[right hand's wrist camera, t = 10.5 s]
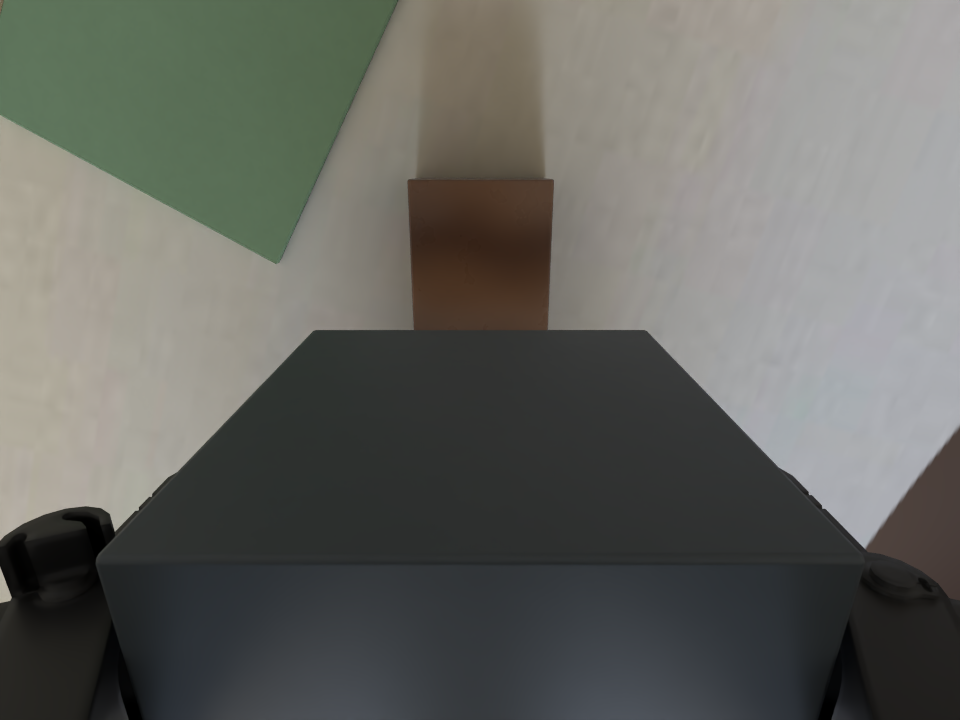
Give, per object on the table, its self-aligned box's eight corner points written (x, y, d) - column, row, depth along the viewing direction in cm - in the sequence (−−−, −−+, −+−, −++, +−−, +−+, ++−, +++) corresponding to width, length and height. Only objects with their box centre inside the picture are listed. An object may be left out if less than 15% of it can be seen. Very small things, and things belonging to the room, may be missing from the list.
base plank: (415, 178, 25) (382, 183, 17) (545, 178, 25) (579, 183, 17) (431, 621, 34) (415, 773, 25) (529, 621, 34) (545, 773, 25)
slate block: (313, 328, 13) (89, 558, 6) (646, 328, 13) (871, 558, 6) (332, 505, 15) (181, 862, 7) (627, 505, 15) (778, 862, 7)
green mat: (76, -259, 20) (68, -267, 20) (413, -34, 22) (412, -37, 22) (-15, 104, 24) (-23, 103, 24) (279, 262, 26) (276, 264, 26)
